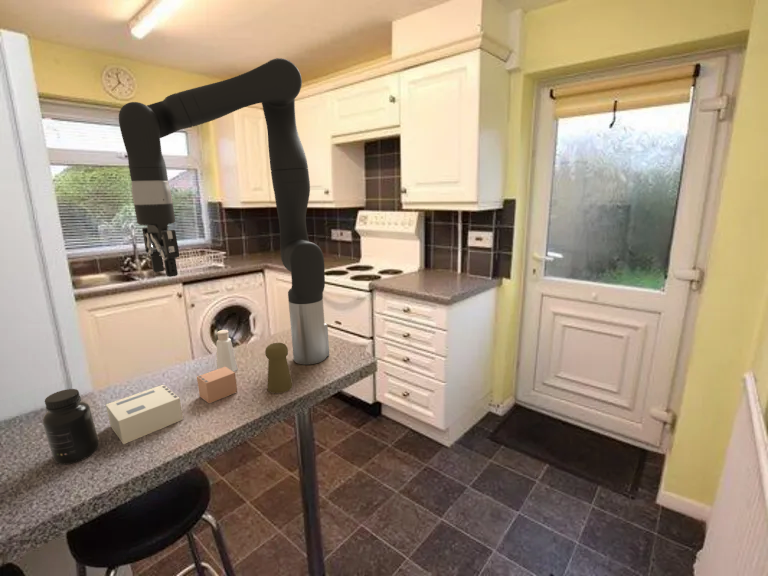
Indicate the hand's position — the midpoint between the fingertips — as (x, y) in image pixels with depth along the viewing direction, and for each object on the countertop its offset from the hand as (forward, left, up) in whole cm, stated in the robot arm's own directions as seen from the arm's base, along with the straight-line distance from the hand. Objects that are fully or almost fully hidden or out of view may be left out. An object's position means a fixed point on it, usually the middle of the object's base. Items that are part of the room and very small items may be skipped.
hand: (165, 273), depth 92 cm
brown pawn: (-15, +20, -28) cm, 38 cm away
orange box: (-4, +12, -28) cm, 31 cm away
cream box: (+12, +12, -28) cm, 33 cm away
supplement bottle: (+24, +13, -28) cm, 39 cm away
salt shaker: (-11, +1, -28) cm, 30 cm away
